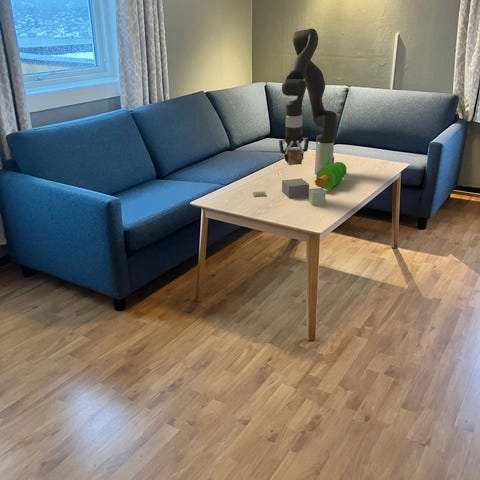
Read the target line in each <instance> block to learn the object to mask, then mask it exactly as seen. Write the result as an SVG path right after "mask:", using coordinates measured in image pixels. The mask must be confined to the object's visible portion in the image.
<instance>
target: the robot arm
mask: <svg viewBox="0 0 480 480" xmlns="http://www.w3.org/2000/svg"><path fill="white" fill-rule="evenodd" d="M292 44H293V47H294V51H295V53H296V58H295V59H293V61H292V64H291V68H290V71H289V73H288V74H287V76H286V77H285V78H284V80H283V82H282V84H281V92H282V94H283V95H284V96H287V97H289V96H290V97H296V99H294V100H289V101H288V102H286V104H285V106H286V107H285V137H284V139H278V144H279V150H280V153H281V154H283V155H284V161H285V162H286V163H287V162H288V151H289V150H290V149H293V148H299V149H300V150H301V151H302V161H303V160H304V153H306V152H308V150H309V142H310V139H309V138H308V137H303V124H304V123H303V102H304V101H303V100H304V97H305V93H306V90H307V94H308V98H309V102H310V106H311V113H312V121H313V124H314V125H315V127H316V128H321V129H323V131H322V134H318V135H317V136H316V138H315V139H316V140H315V159H314V160H315V161H314V163H315V164H314V165H315V166H314V174H315V175H316V174H317V172H318V171H319V170H320V169H322V168H324V167H325V166H327V165H329V164H331V165H332V164H333V163H335V156H334V149H335V148H334V147H335V138H336V134H337V128H338V126H337V125H338V116H337V113H336V112H335V111H333V110H328V109H325V107H324V104H323V96H324V94H325V90H326V82H325V78H324V74H323V72H322V70H321V69H320V68H319V67H318V66H317V65H316V64H315V63H314V62H313V61H312V60H311V59H312V58H313V56H314V54H315V51H316V50H317V47H318V45H319V35H318V32H317V30H316V29H315V28H306V29H302V30H298V31H295V32H293V34H292ZM302 142H303V143H304V145H303V147H302V145H301V144H302ZM285 143H286V146H285V149H284V144H285Z"/></svg>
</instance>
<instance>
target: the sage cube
mask: <svg viewBox="0 0 480 480" xmlns="http://www.w3.org/2000/svg"><path fill="white" fill-rule="evenodd" d="M326 195H327V193H326V190H324V188H321V187H318V188H309V196H308V202H309V203H310V205H311V206H325V205H326Z"/></svg>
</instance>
